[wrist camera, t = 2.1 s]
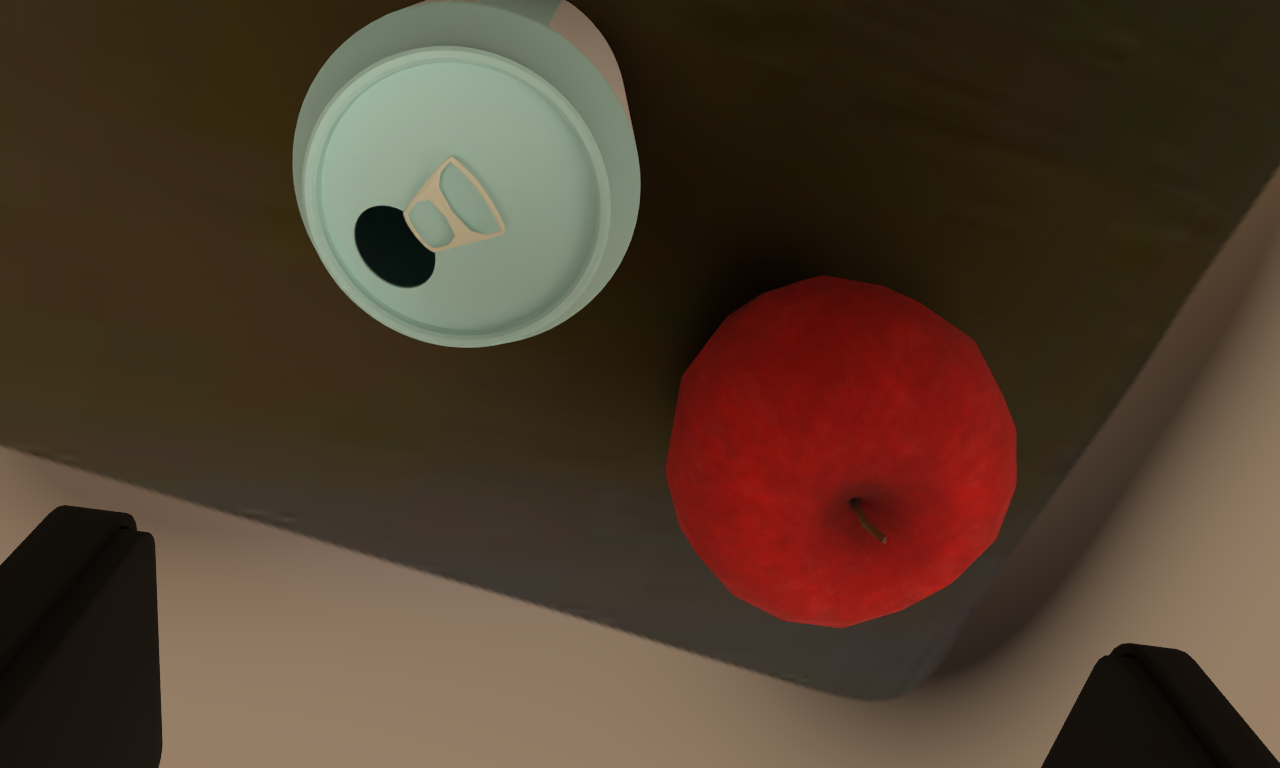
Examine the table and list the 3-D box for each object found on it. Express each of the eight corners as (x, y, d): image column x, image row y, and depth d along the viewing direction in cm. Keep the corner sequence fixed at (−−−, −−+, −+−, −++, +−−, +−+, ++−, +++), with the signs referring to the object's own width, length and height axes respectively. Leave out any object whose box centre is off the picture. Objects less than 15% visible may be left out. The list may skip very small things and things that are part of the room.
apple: (758, 169, 29) (841, 284, 20) (986, 312, 32) (1160, 478, 22) (601, 408, 33) (604, 608, 23) (817, 520, 35) (903, 743, 25)
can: (581, 248, 30) (574, 420, 19) (367, 174, 29) (232, 315, 18) (659, 33, 27) (701, 94, 17) (426, -60, 26) (309, -59, 15)
